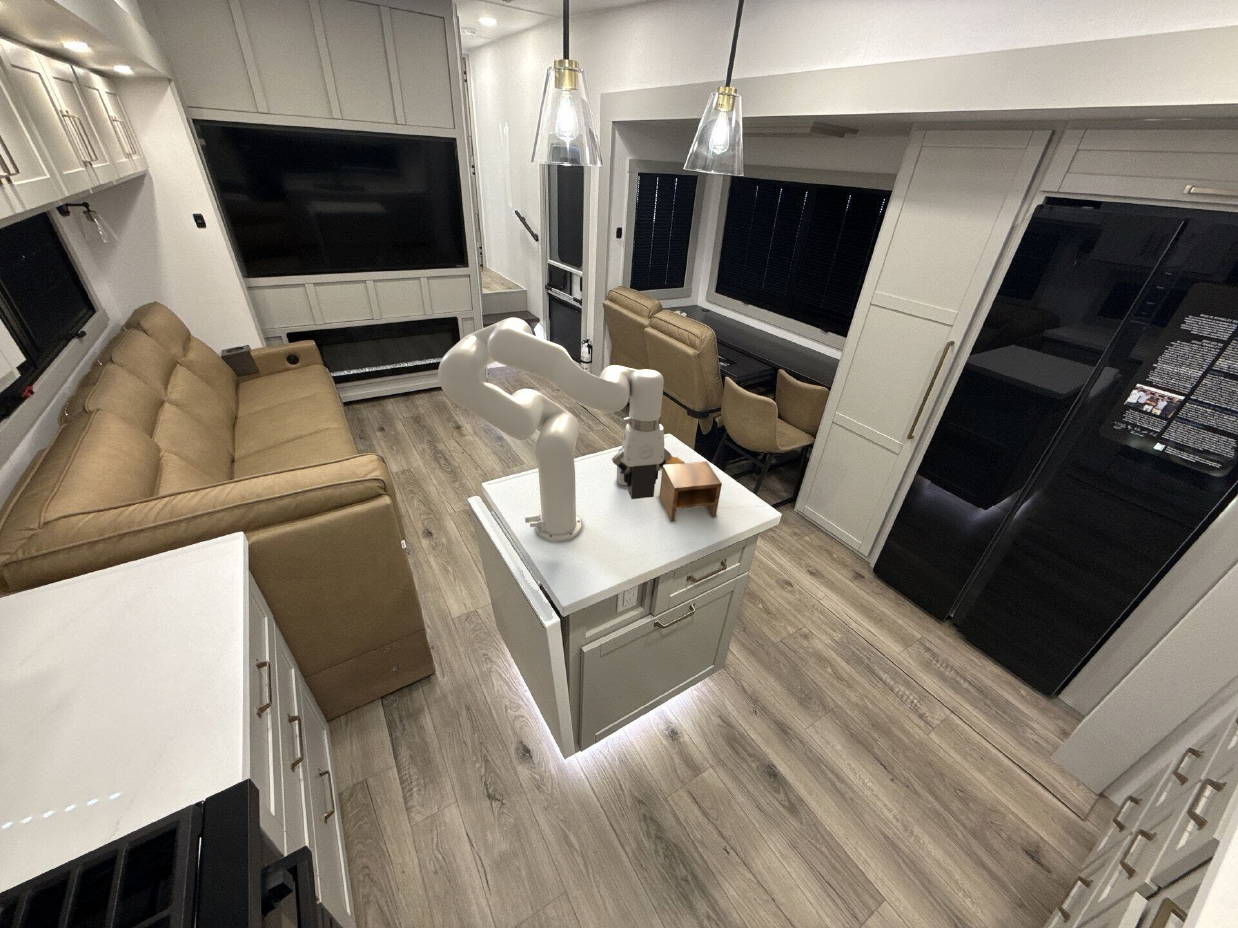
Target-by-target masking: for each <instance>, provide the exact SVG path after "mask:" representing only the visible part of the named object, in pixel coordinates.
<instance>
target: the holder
mask: <svg viewBox="0 0 1238 928" xmlns="http://www.w3.org/2000/svg"><path fill="white" fill-rule="evenodd" d="M656 466H657V465H656V464H654V465H644V466H633V467H632V468H631V470H630V472H631V486H630V487H628V486H627V484H626V486H627V488H626V489H627V491H628V494H629V497H630V499H631V500H639V499H647V498H648V499H649V498H654V497H655V488H656V484H655V477H656Z"/></svg>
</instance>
